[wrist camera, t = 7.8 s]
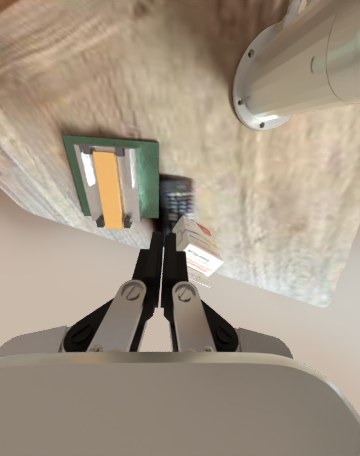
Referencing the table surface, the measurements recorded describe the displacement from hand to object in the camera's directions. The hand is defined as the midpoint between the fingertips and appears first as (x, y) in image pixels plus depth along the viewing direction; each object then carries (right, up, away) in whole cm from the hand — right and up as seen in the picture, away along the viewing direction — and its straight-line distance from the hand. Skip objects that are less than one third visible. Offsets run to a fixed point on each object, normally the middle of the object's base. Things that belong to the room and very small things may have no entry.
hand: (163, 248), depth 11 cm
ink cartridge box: (+4, +1, +27) cm, 27 cm away
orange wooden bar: (-11, +7, +15) cm, 20 cm away
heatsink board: (-11, +11, +19) cm, 25 cm away
